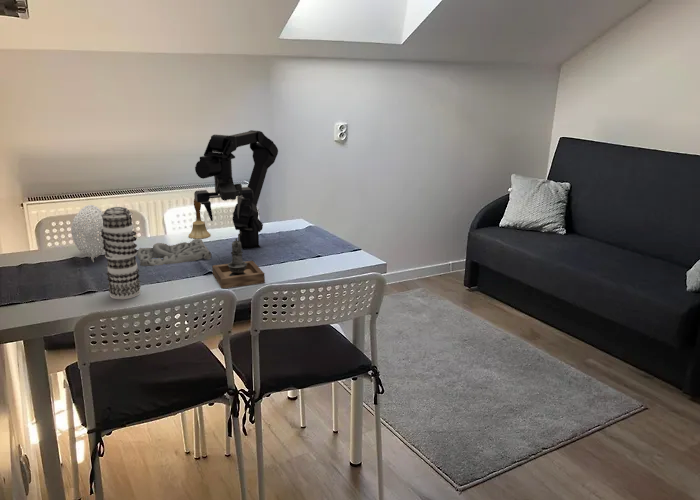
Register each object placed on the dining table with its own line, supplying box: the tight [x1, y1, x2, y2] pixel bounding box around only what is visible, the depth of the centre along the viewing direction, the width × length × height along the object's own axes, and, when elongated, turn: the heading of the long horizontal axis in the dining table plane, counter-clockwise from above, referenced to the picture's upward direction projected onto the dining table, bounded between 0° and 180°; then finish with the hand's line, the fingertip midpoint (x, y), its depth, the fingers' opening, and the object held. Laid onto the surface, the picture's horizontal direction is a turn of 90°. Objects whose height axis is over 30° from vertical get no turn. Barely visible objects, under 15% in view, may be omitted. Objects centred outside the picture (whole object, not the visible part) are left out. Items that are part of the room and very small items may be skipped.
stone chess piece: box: [227, 237, 247, 276], centre depth 185 cm, size 6×6×12 cm
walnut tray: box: [211, 260, 266, 289], centre depth 186 cm, size 13×13×3 cm
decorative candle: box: [100, 206, 142, 300], centre depth 170 cm, size 9×9×25 cm
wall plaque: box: [136, 239, 212, 267], centre depth 207 cm, size 24×19×4 cm
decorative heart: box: [70, 204, 105, 263], centre depth 201 cm, size 18×11×17 cm, turn 13°
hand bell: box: [188, 198, 212, 240], centre depth 227 cm, size 8×8×16 cm
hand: (225, 219), depth 203 cm, fingers open, 9 cm apart
